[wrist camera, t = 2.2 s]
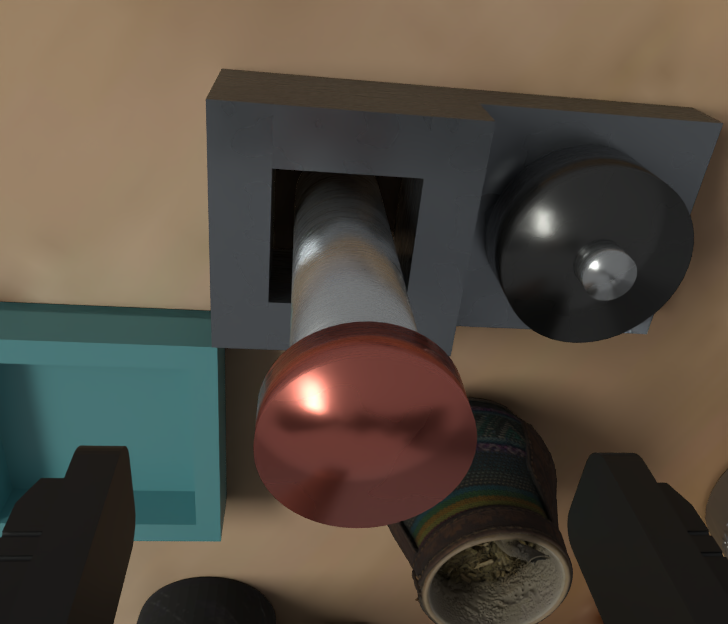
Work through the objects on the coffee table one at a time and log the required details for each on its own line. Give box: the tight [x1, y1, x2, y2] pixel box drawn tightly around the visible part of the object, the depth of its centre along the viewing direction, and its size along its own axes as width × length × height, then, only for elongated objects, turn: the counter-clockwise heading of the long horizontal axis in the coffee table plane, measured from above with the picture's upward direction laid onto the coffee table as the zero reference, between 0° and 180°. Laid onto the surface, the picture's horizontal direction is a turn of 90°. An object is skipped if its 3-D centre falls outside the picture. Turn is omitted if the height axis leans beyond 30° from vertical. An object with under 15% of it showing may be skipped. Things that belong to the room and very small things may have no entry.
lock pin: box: [253, 171, 477, 528], centre depth 18 cm, size 4×4×13 cm
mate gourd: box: [388, 398, 573, 624], centre depth 26 cm, size 7×8×10 cm
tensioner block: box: [206, 69, 723, 356], centre depth 22 cm, size 16×8×5 cm, turn 85°
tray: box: [0, 302, 227, 541], centre depth 27 cm, size 10×10×2 cm
